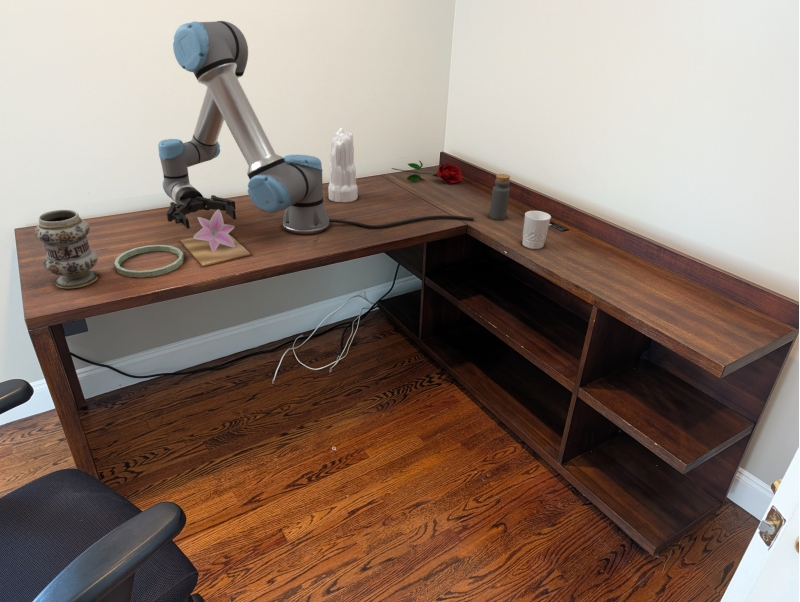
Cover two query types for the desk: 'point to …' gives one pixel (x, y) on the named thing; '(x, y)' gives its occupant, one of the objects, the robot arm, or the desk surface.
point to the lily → (215, 231)
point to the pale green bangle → (148, 272)
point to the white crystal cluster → (342, 168)
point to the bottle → (500, 197)
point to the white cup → (535, 229)
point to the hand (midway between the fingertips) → (211, 219)
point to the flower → (438, 173)
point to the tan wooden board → (221, 254)
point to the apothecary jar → (67, 248)
